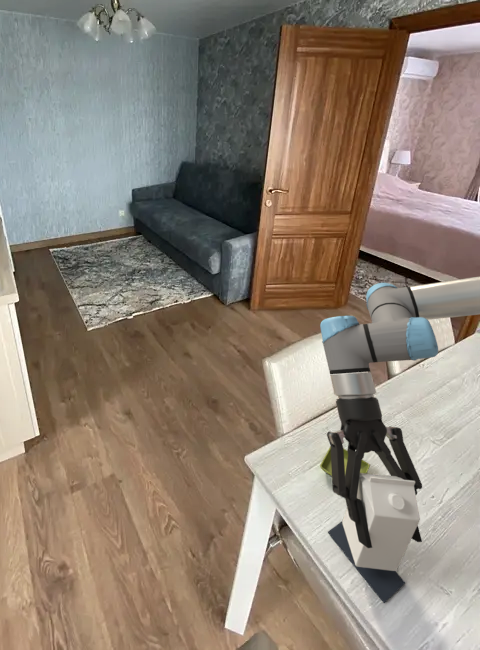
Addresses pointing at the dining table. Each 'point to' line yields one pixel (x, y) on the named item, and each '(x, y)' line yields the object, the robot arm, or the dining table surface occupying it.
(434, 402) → the dining table surface
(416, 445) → the dining table surface
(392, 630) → the dining table surface
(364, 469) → the green rectangular tray
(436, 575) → the dining table surface
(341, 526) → the edge strip
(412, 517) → the milk carton
